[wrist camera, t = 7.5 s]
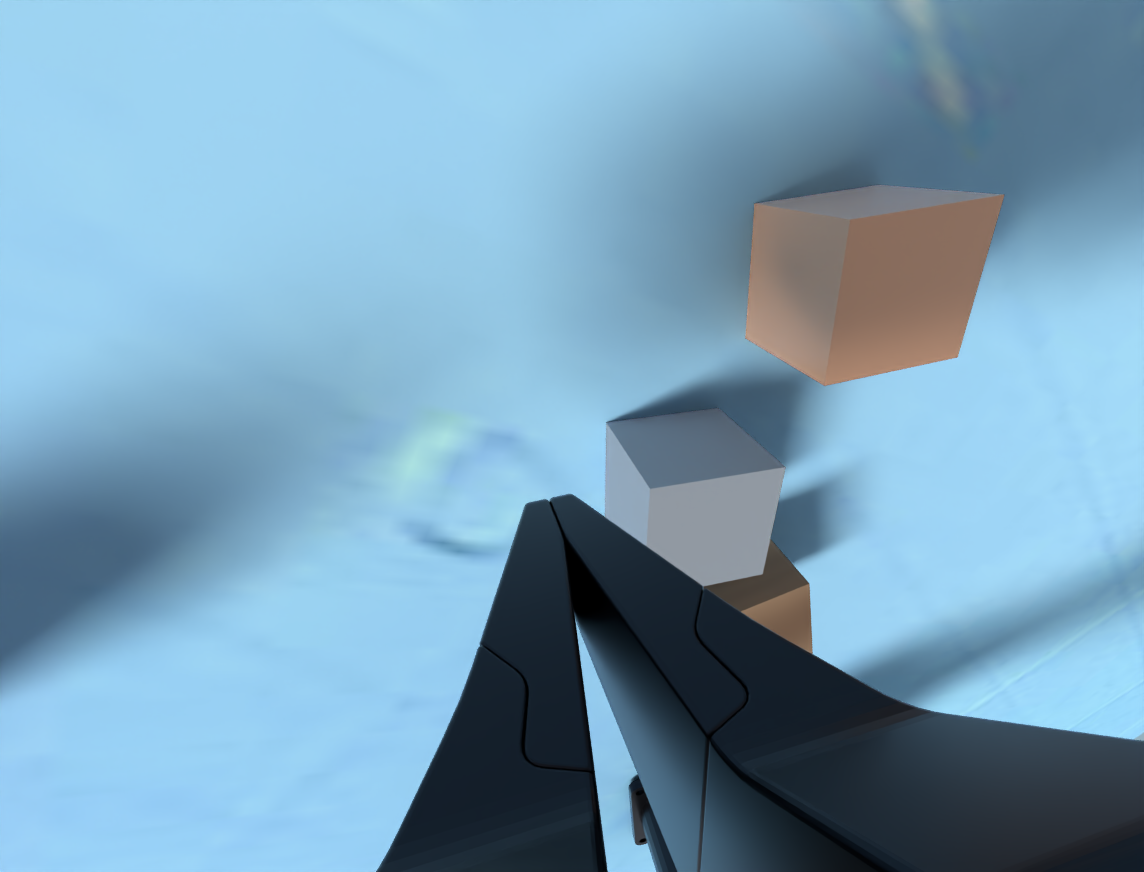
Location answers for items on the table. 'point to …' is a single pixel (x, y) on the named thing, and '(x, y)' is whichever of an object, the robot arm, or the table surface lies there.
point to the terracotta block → (867, 277)
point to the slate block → (694, 492)
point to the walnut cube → (773, 598)
